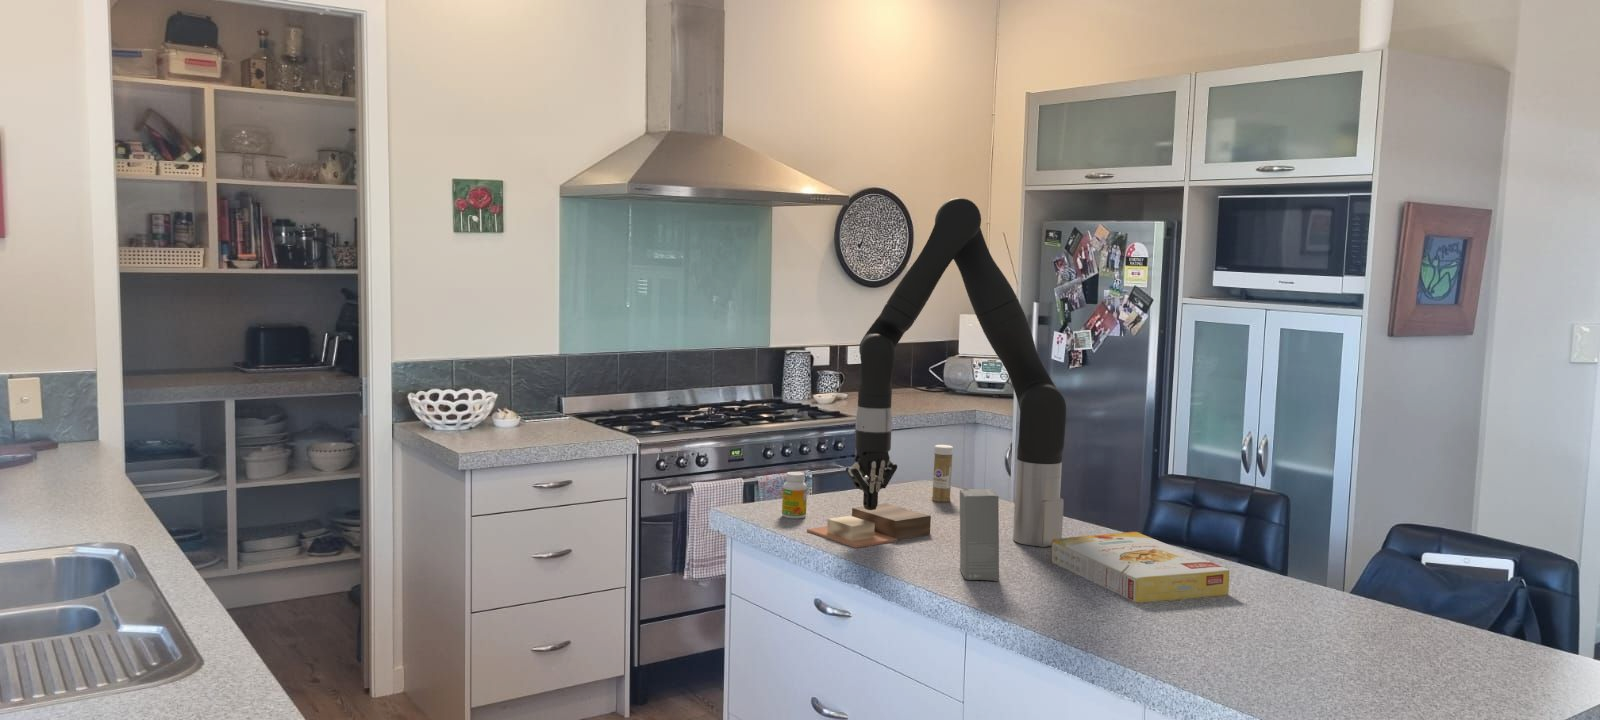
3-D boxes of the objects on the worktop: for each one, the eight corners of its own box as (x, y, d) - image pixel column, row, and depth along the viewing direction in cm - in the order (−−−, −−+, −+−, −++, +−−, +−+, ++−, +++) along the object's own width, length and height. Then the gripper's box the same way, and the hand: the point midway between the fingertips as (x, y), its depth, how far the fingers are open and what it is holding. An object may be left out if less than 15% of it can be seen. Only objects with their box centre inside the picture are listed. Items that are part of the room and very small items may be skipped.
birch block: (852, 526, 240) (852, 541, 240) (874, 523, 244) (874, 537, 244) (827, 518, 246) (827, 532, 246) (849, 515, 250) (849, 529, 250)
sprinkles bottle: (929, 501, 285) (932, 446, 283) (934, 497, 289) (936, 443, 288) (948, 503, 283) (951, 447, 282) (952, 499, 287) (955, 445, 286)
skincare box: (999, 582, 215) (1003, 496, 214) (960, 580, 215) (964, 495, 214) (993, 569, 224) (997, 487, 222) (955, 568, 224) (959, 486, 222)
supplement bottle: (778, 517, 262) (780, 474, 261) (786, 512, 267) (787, 470, 266) (801, 519, 260) (803, 476, 259) (808, 515, 265) (810, 472, 264)
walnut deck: (930, 534, 251) (930, 515, 250) (895, 539, 244) (896, 520, 244) (885, 521, 262) (886, 503, 261) (851, 526, 255) (852, 508, 255)
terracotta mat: (896, 541, 243) (896, 538, 243) (856, 547, 237) (856, 545, 237) (846, 525, 256) (846, 523, 256) (806, 531, 249) (807, 529, 249)
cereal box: (1136, 529, 238) (1233, 566, 211) (1135, 557, 238) (1231, 596, 212) (1049, 537, 231) (1138, 575, 204) (1048, 565, 231) (1137, 606, 205)
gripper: (861, 432, 240) (858, 516, 242) (908, 428, 248) (905, 509, 250) (837, 427, 246) (834, 509, 248) (885, 423, 254) (881, 502, 256)
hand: (870, 509), depth 249 cm, fingers closed
